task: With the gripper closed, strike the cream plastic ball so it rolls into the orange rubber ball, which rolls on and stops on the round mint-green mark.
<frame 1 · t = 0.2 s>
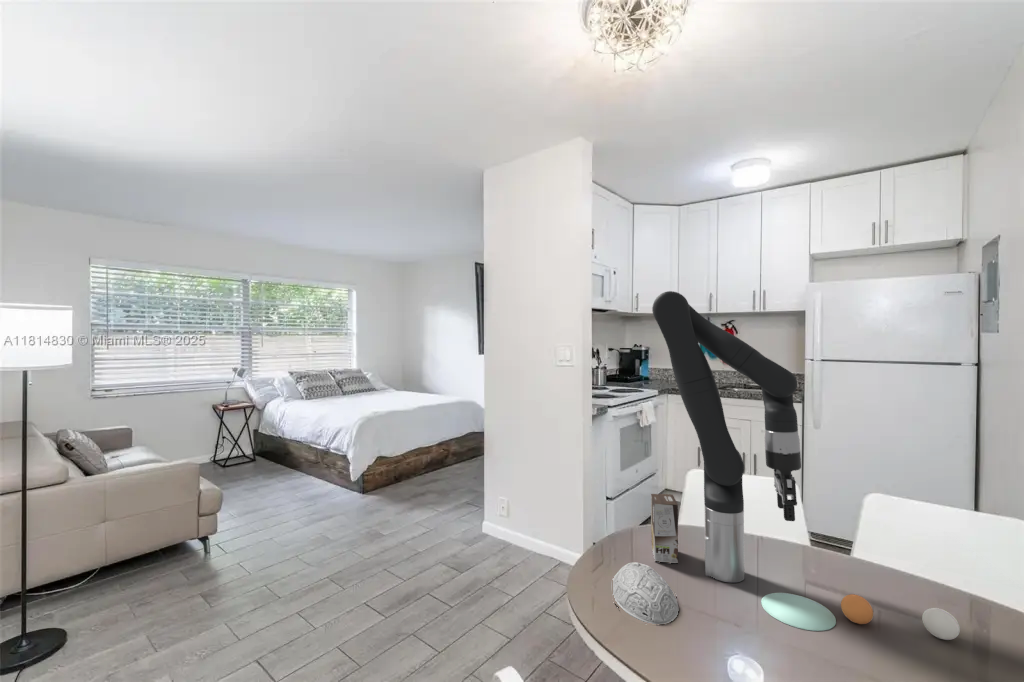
hand: (786, 514, 112), 17 cm above the table, tool pointing down, fingers open, 8 cm apart
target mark: (797, 610, 101), on the table
cue ball: (940, 623, 92), on the table
grey oval dome: (643, 598, 108), on the table
orange ball: (856, 609, 97), on the table
coffee box: (664, 556, 127), on the table
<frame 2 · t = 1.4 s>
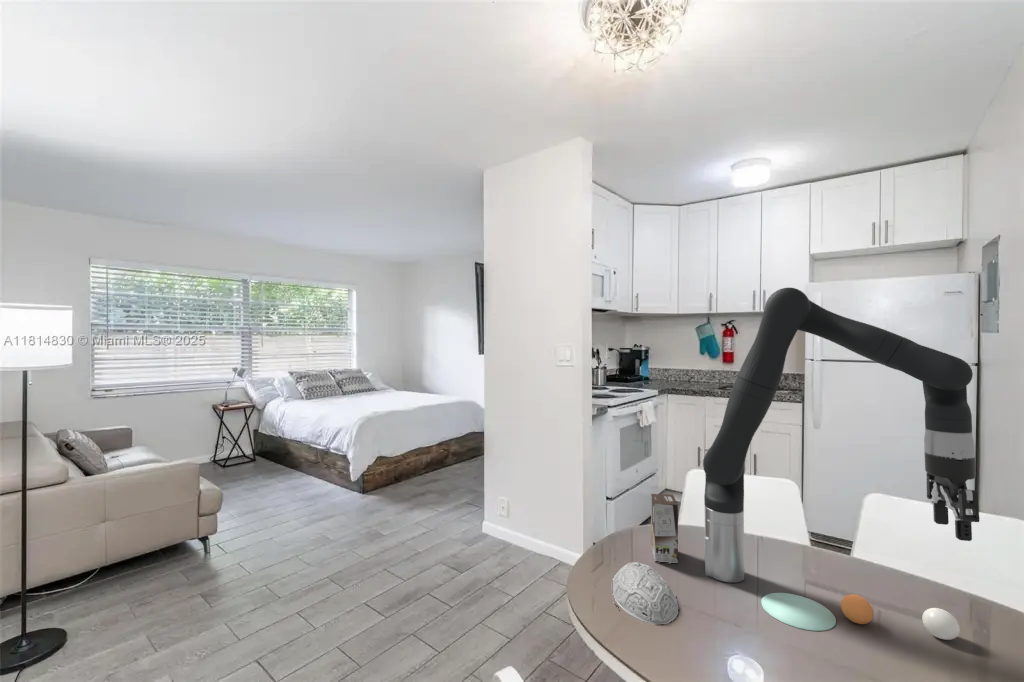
hand: (952, 531, 93), 21 cm above the table, tool pointing down, fingers open, 8 cm apart
nothing on the table moved.
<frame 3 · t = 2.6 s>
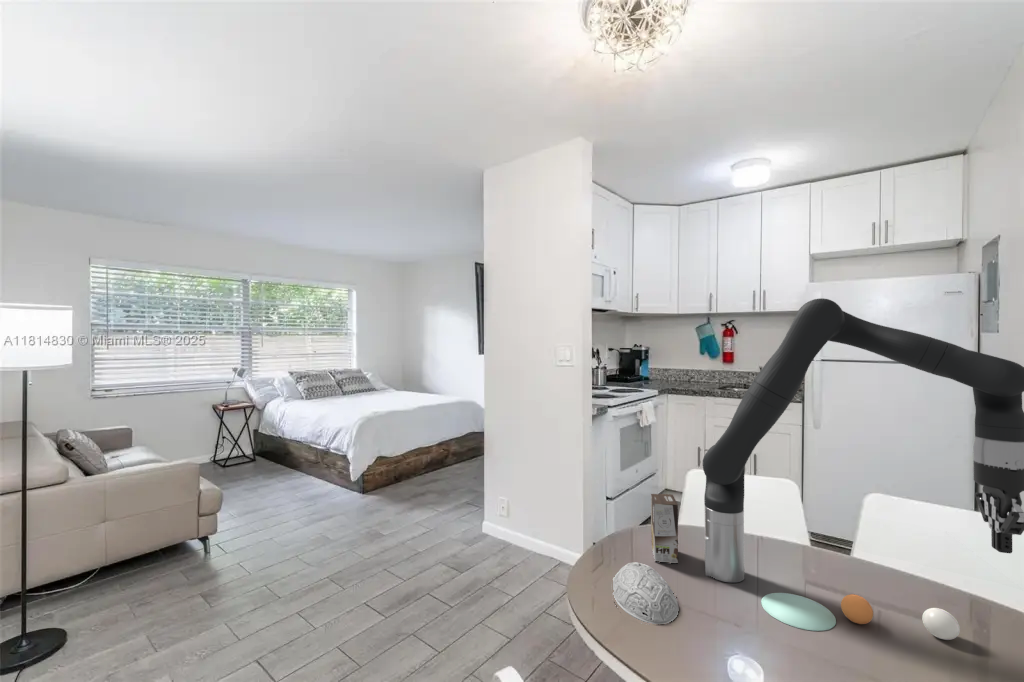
hand: (1002, 550, 88), 19 cm above the table, tool pointing down, fingers closed
nothing on the table moved.
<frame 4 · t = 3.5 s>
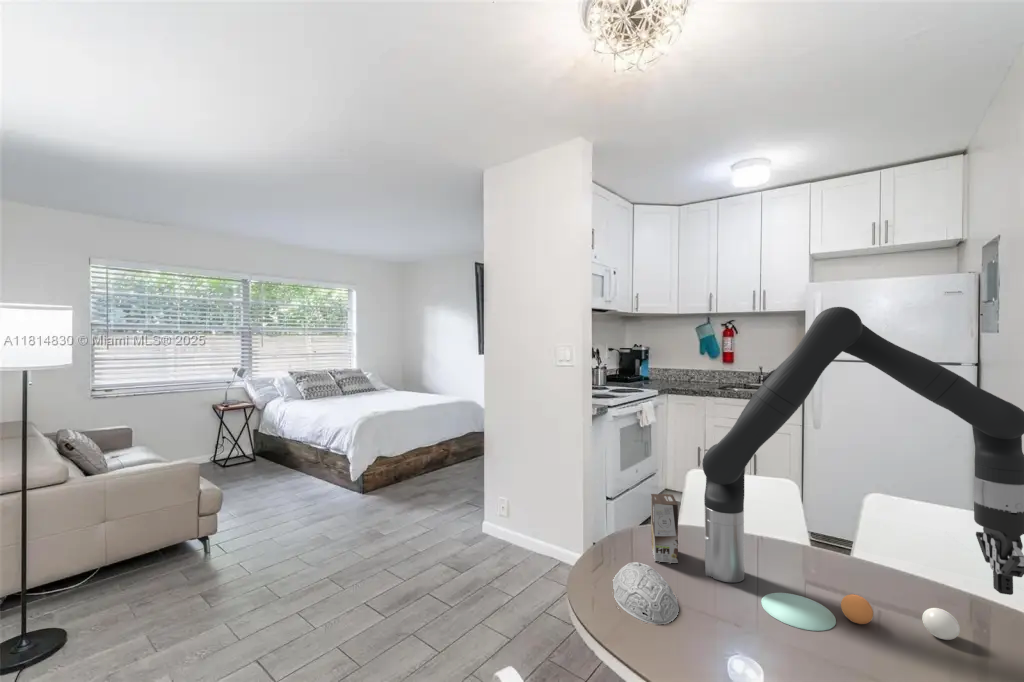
hand: (1003, 592, 88), 11 cm above the table, tool pointing down, fingers closed
nothing on the table moved.
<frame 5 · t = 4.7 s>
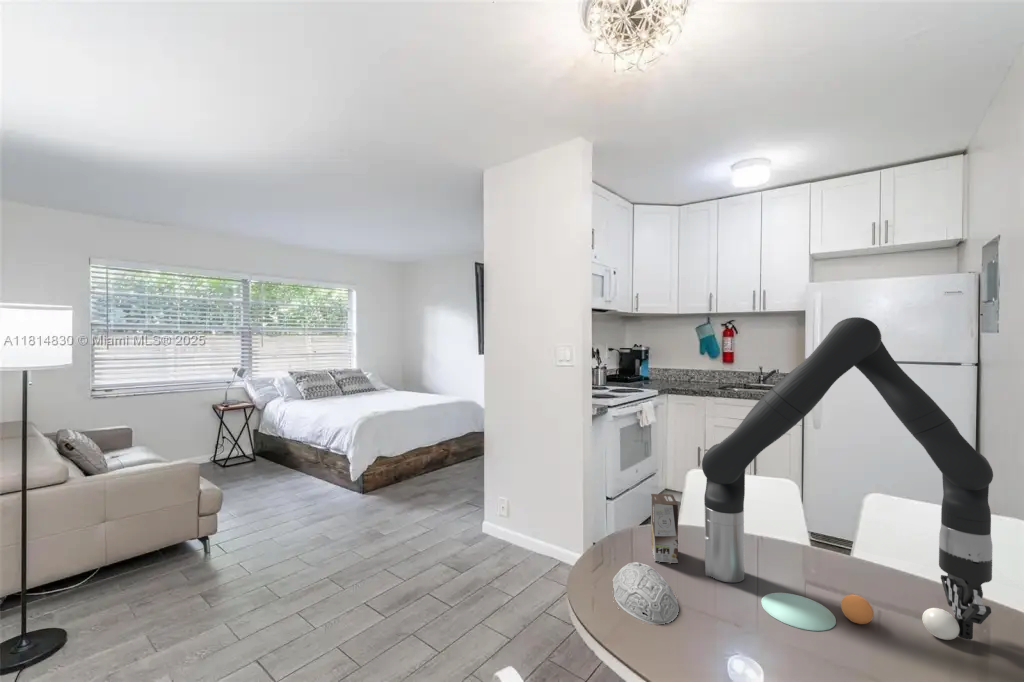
hand: (963, 636, 91), 1 cm above the table, tool pointing down, fingers closed
cue ball: (940, 623, 92), on the table, touching gripper
everything else where it was.
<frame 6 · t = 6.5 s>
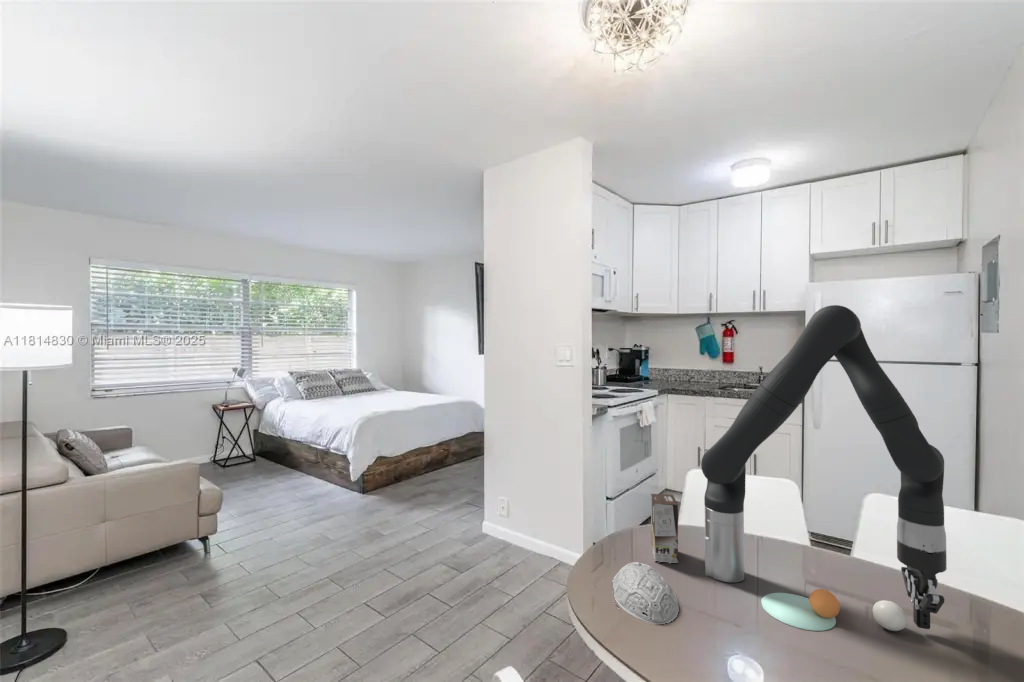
hand: (921, 626, 93), 2 cm above the table, tool pointing down, fingers closed
cue ball: (889, 615, 95), on the table
orange ball: (824, 603, 99), on the table
everything else where it was.
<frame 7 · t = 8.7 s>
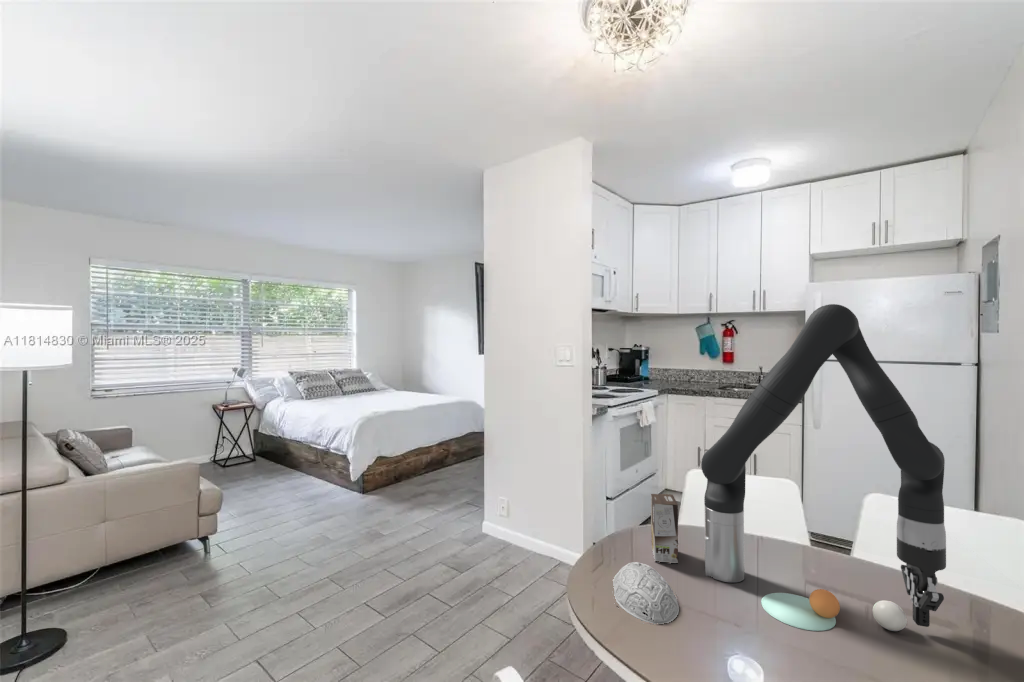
hand: (921, 624, 93), 2 cm above the table, tool pointing down, fingers closed
nothing on the table moved.
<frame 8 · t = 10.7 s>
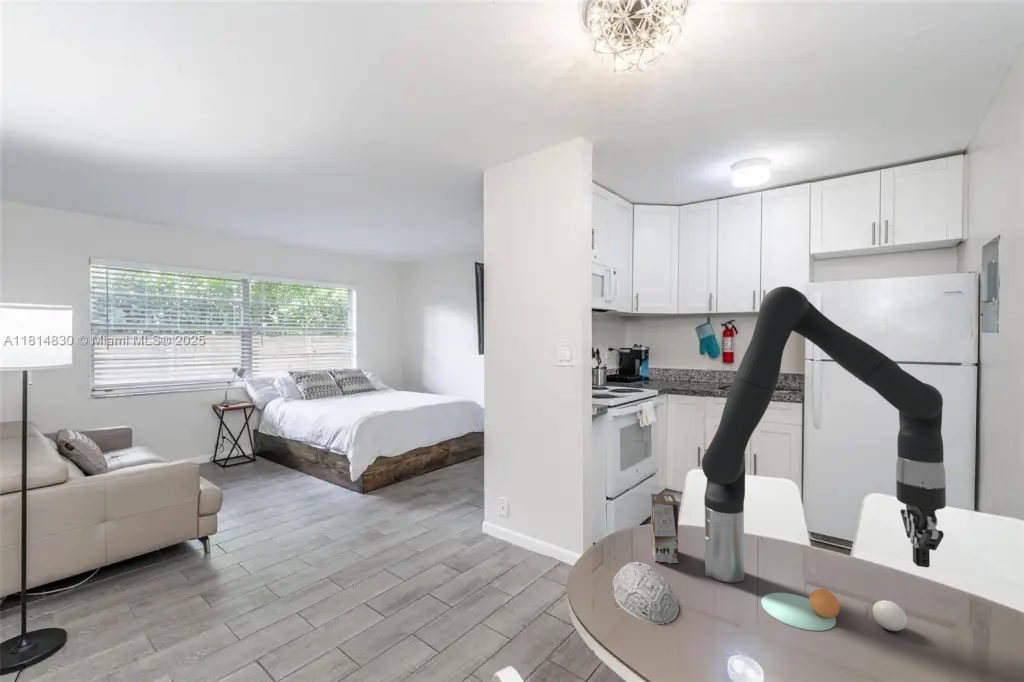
hand: (921, 565, 93), 14 cm above the table, tool pointing down, fingers closed
nothing on the table moved.
at the end: orange ball 5.1 cm from the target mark (horizontally); orange ball never touched the robot; cue ball first touched orange ball at 5.1 s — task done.
